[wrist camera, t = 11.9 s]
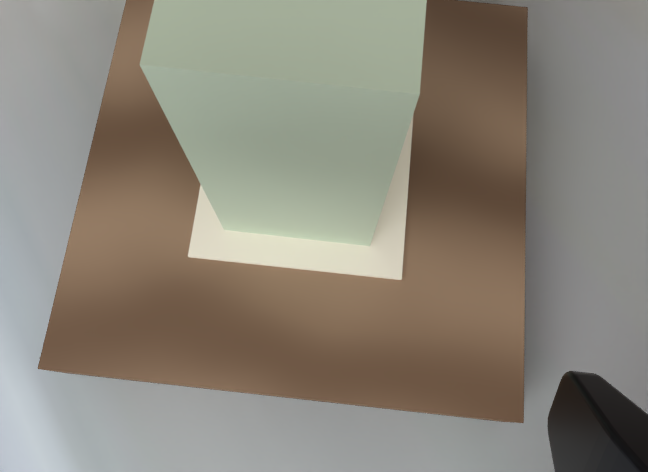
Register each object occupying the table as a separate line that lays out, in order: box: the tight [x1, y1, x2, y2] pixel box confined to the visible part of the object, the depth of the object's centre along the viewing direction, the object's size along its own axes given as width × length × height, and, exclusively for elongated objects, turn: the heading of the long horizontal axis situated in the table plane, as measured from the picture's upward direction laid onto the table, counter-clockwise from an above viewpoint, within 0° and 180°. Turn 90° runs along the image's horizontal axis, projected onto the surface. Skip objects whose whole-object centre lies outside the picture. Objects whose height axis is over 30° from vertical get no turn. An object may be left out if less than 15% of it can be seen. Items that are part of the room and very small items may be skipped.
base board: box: [38, 0, 528, 423], centre depth 20 cm, size 14×14×2 cm
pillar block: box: [140, 0, 427, 246], centre depth 14 cm, size 4×4×9 cm
